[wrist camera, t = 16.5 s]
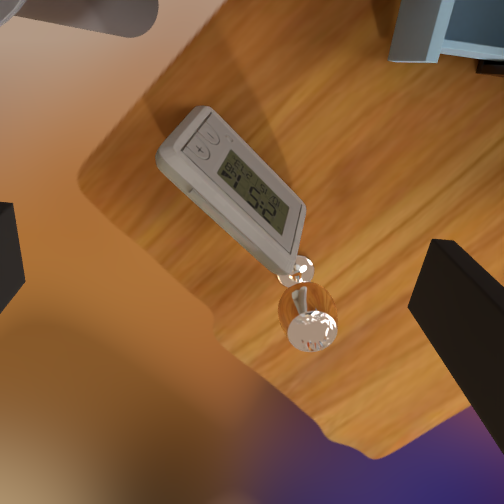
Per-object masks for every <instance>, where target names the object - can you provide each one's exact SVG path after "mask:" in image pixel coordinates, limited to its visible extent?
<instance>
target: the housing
mask: <svg viewBox="0 0 504 504" xmlns="http://www.w3.org/2000/svg"><path fill="white" fill-rule="evenodd" d="M476 73H478V74H485V75H492V76H499V77H504V62H497V61H490V60H483V59H480V61H479V64H478V68H477V71H476Z"/></svg>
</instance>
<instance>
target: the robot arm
mask: <svg viewBox="0 0 504 504" xmlns="http://www.w3.org/2000/svg"><path fill="white" fill-rule="evenodd" d="M24 283H25V276H24V269H23V263H22V257H21V251H20V244H19V238H18V233H17V226H16V219H15V213H14V208H13V203H7V202H0V313H1V312H2V311H3V309H4V308H5V307H6V306H7V304H8V303H9V302H10V301H11V299H12V298H13V297H14V296H15V294H16V293H17V292H18V290H19V289H20V288H21V287H22V285H23V284H24ZM408 309H409V310H410V312H411V313H412V315H413V316H414V318H415V319H416V321H417V322H418V324H419V325H420V327H421V328H422V330H423V332H424V333H425V335H426V336H427V338H428V339H429V341H430V342H431V344H432V345H433V347H434V348H435V350H436V351H437V353H438V355H439V356H440V358H441V359H442V361H443V362H444V364H445V365H446V367H447V368H448V370H449V371H450V373H451V375H452V376H453V378H454V379H455V381H456V382H457V384H458V385H459V387H460V388H461V390H462V391H463V393H464V394H465V396H466V398H467V399H468V401H469V402H470V404H471V405H472V407H473V408H474V410H475V411H476V413H477V414H478V416H479V417H480V419H481V421H482V422H483V423H484V425H485V427H486V428H487V430H488V431H489V433H490V434H491V436H492V437H493V439H494V440H495V442H496V444H497V445H498V447H499V448H500V450H501V451H502V453H503V454H504V287H503V286H502V285H501V284H500V283H499V282H498V281H497V280H495V279H494V278H493V277H492V276H491V275H490V274H489V273H488V272H487V271H486V270H485V269H484V268H483V267H482V266H480V265H479V264H478V263H477V262H476V261H475V260H474V259H473V258H472V257H471V256H470V255H469V254H468V253H467V252H465V251H464V250H463V249H462V248H461V247H460V246H459V245H458V244H457V243H456V242H455V241H452V240H441V239H432V240H431V243H430V246H429V248H428V251H427V254H426V257H425V260H424V262H423V265H422V268H421V271H420V274H419V276H418V279H417V282H416V285H415V288H414V290H413V293H412V296H411V299H410V301H409V304H408Z"/></svg>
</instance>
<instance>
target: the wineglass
mask: <svg viewBox="0 0 504 504" xmlns="http://www.w3.org/2000/svg"><path fill="white" fill-rule="evenodd" d="M277 276H278V279H279V281H280V282H281V283H282V284H283V285H284V286H286V287H288V289H286V290H285V291H284V293H283V294H282V296H281V298H280V300H279V304H278V317H279V321H280V325H281V327H282V329H283V331H284V333H285V335H286V337H287V338H288V340H289V341H290V343H291V344H292V345H293V346H294V347H295V348H297V349H299V350H302V351H305V352H315V351H319V350H322V349H324V348H326V347H328V346H329V345H330V344H331V343H332V342H333V341H334V339H335V337H336V335H337V329H338V318H337V310H336V305H335V303H334V300H333V298H332V296H331V295H330V294H329V292H328V291H327V290H326V289H325V288H324V287H322V286H321V285H319V284H317V283H314V282H310V281H311V280H312V278H313V276H314V266H313V264H312V262H311V261H310V260H309V259H308V258H307V257H304V256H301V255H297V257H296V261H295V265H294V268H293V271H292V272H291V273H290V274H287V275H283V276H282V275H278V274H277Z"/></svg>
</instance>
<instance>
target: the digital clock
mask: <svg viewBox="0 0 504 504" xmlns="http://www.w3.org/2000/svg"><path fill="white" fill-rule="evenodd" d="M155 159H156V165H157V167H158V169H159V170H160V171H161V172H162V173H163V174H164V175H165V176H166V177H167V178H168V179H169V180H170V181H171V182H172V183H174V184H175V185H176V186H177V187H178V188H179V189H180V190H181V191H182V192H183V193H184V194H185V195H187V196H188V197H189V198H190V199H191V200H192V201H193V202H194V203H195V204H196V205H198V206H199V207H200V208H201V209H202V210H203V211H204V212H205V213H206V214H207V215H209V216H210V217H211V218H212V219H213V220H214V221H215V222H216V223H217V224H218V225H220V226H221V227H222V228H223V229H224V230H225V231H226V232H227V233H228V234H229V235H230V236H232V237H233V238H234V239H235V240H236V241H237V242H238V243H239V244H240V245H241V246H243V247H244V248H245V249H246V250H247V251H248V252H249V253H250V254H251V255H252V256H254V257H255V258H256V259H257V260H258V261H259V262H260V263H261V264H263V265H264V266H265V267H266V268H267V269H268V270H270V271H271V272H272V273H274V274H278V275H282V276H283V275H287V274H290V273H291V272H292V271H293V268H294V265H295V261H296V257H297V253H298V248H299V244H300V239H301V234H302V229H303V225H304V220H305V215H306V206H305V204H304V203H303V201H302V200H301V199H300V198H299V197H298V196H297V195H296V194H295V193H294V192H293V191H292V190H291V189H290V188H289V186H288V185H287V184H286V183H285V182H284V181H283V180H282V179H281V178H280V177H279V176H278V175H277V174H276V173H275V172H274V171H273V170H272V169H271V168H270V167H269V166H268V165H267V164H266V163H265V162H264V161H263V160H262V159H261V158H260V157H259V156H258V155H257V154H256V153H255V152H254V151H253V149H252V148H251V147H250V146H249V145H248V144H247V143H246V142H245V141H244V140H243V139H242V138H241V137H240V136H239V135H238V134H237V133H236V132H235V131H234V130H233V129H232V128H231V127H230V126H229V125H228V124H227V123H226V122H225V121H224V120H223V119H222V118H221V117H220V116H219V115H218V114H217V113H216V112H215V111H214V110H213V109H212V108H211V107H209V106H196V107H194V108H193V109H192V111H191V112H190V113H189V114H188V115H187V116H186V117H185V118H184V119H183V121H182V122H181V123H180V124H179V125H178V126H177V127H176V128H175V129H174V131H173V132H172V133H171V134H170V135H169V136H168V137H167V138H166V140H165V141H164V142H163V143H162V144H161V146H160V147H159V149H158V150H157V153H156V156H155Z"/></svg>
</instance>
